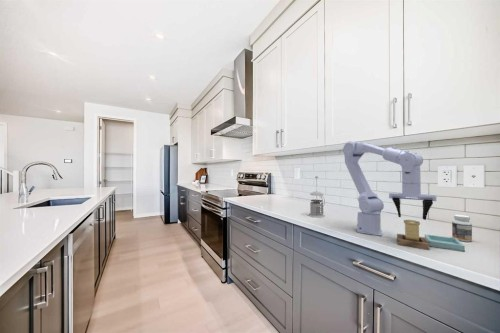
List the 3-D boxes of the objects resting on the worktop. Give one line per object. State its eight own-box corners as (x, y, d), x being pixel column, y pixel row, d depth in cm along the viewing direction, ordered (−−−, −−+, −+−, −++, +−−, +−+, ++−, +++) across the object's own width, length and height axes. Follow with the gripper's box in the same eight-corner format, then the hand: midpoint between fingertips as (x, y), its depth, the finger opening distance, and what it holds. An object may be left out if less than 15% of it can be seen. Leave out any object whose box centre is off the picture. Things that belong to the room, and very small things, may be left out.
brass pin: (404, 244, 80) (404, 221, 80) (403, 240, 84) (403, 219, 84) (421, 247, 77) (420, 223, 77) (419, 243, 81) (418, 220, 81)
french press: (305, 215, 130) (305, 176, 130) (317, 213, 136) (317, 175, 136) (318, 218, 121) (317, 176, 122) (330, 216, 128) (330, 176, 128)
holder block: (398, 244, 79) (398, 239, 79) (397, 238, 87) (397, 233, 87) (429, 249, 74) (428, 244, 74) (424, 242, 82) (424, 237, 82)
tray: (429, 246, 78) (429, 240, 78) (424, 238, 86) (424, 234, 86) (464, 251, 73) (464, 246, 73) (456, 243, 81) (456, 238, 81)
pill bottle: (451, 236, 89) (451, 213, 89) (470, 239, 85) (470, 215, 85) (453, 240, 84) (452, 215, 85) (473, 243, 81) (473, 218, 81)
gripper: (389, 183, 81) (389, 217, 81) (438, 184, 73) (438, 222, 73) (388, 182, 87) (389, 214, 87) (433, 183, 79) (434, 218, 79)
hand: (411, 217), depth 81 cm, fingers open, 7 cm apart
